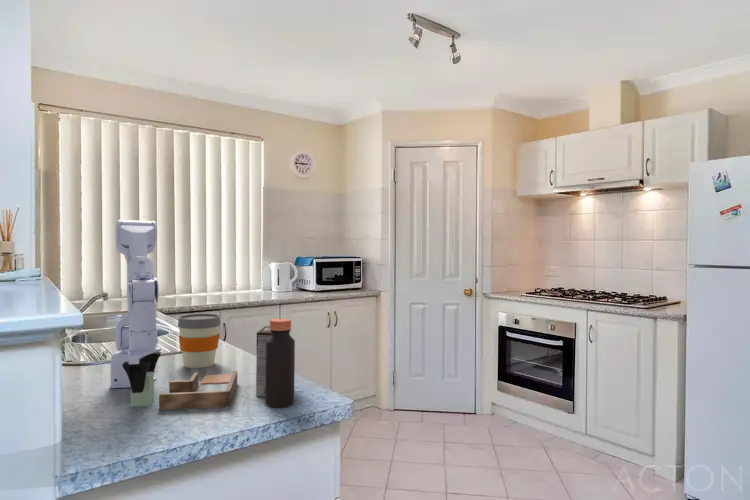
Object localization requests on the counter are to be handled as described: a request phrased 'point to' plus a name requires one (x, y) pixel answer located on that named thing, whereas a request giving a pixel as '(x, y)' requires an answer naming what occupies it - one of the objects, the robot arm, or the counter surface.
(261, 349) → the coffee box
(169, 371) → the counter surface
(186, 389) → the channel
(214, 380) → the tile
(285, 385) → the bottle
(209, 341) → the reusable coffee cup
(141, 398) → the sage block
